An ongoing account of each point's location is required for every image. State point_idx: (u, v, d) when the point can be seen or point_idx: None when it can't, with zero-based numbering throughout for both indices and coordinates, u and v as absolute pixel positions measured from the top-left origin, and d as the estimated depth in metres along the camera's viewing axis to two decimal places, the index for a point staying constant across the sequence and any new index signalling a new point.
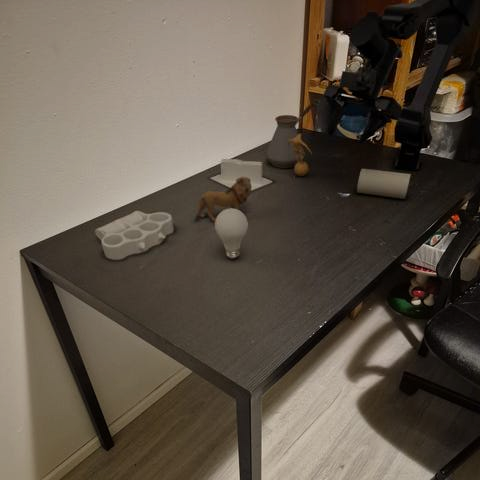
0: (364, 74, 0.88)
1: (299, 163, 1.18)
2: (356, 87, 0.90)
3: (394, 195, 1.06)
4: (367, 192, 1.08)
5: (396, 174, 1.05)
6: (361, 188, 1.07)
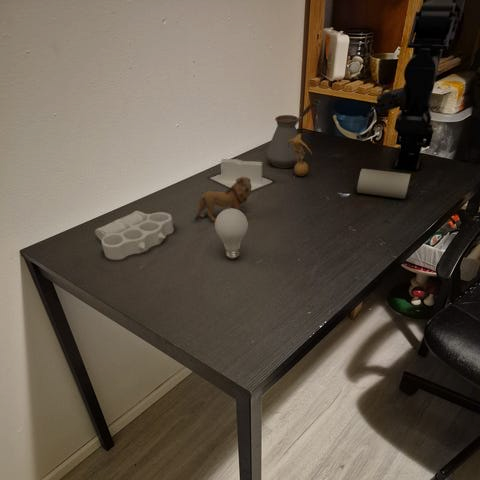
0: (381, 98, 0.93)
1: (299, 163, 1.18)
2: (380, 110, 0.96)
3: (394, 195, 1.06)
4: (367, 192, 1.08)
5: (396, 174, 1.05)
6: (361, 188, 1.07)
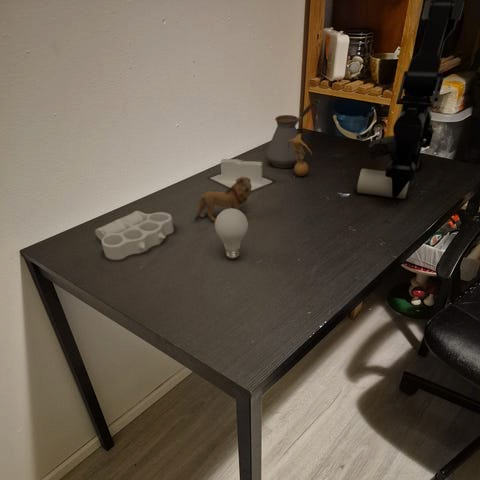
0: (373, 146, 1.00)
1: (299, 163, 1.18)
2: (372, 156, 1.02)
3: None
4: (367, 192, 1.08)
5: None
6: (361, 188, 1.07)
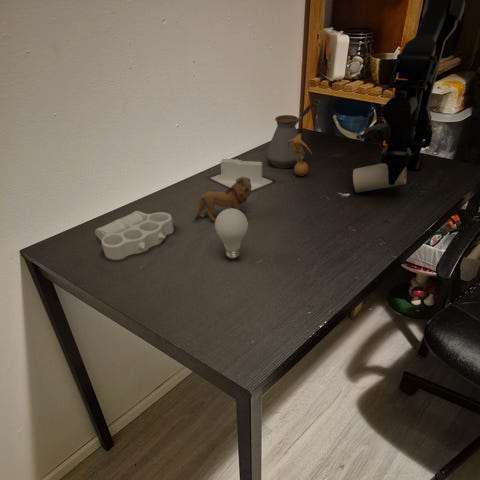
0: None
1: (299, 163, 1.18)
2: (367, 143, 1.01)
3: None
4: (366, 189, 1.08)
5: None
6: (358, 186, 1.08)
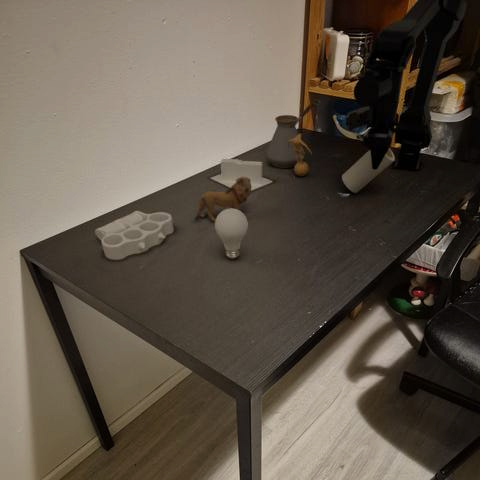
0: (349, 117, 0.98)
1: (299, 163, 1.18)
2: (349, 128, 1.00)
3: (381, 167, 1.03)
4: (361, 185, 1.08)
5: (367, 152, 1.04)
6: (352, 186, 1.08)
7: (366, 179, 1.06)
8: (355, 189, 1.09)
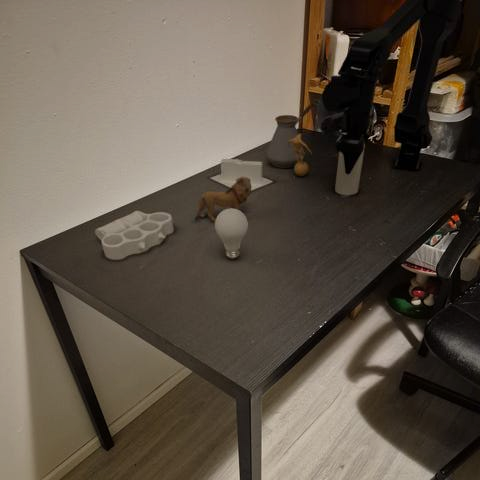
0: (324, 121, 1.01)
1: (299, 163, 1.18)
2: (324, 132, 1.03)
3: None
4: (353, 184, 1.08)
5: None
6: (347, 191, 1.09)
7: (353, 177, 1.07)
8: (351, 191, 1.09)
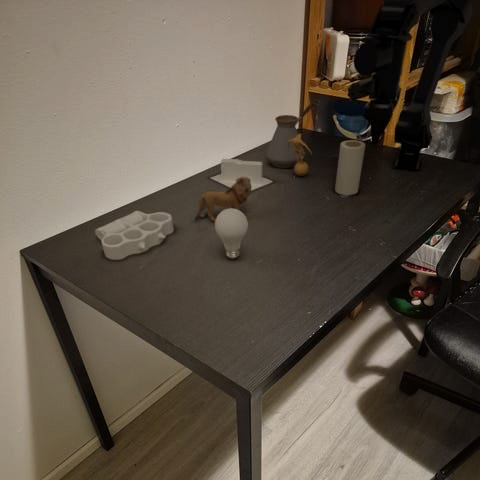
0: (351, 87, 0.98)
1: (299, 163, 1.18)
2: (351, 99, 1.00)
3: (356, 159, 1.04)
4: (353, 184, 1.08)
5: (339, 157, 1.07)
6: (347, 190, 1.09)
7: (353, 177, 1.07)
8: (351, 191, 1.09)
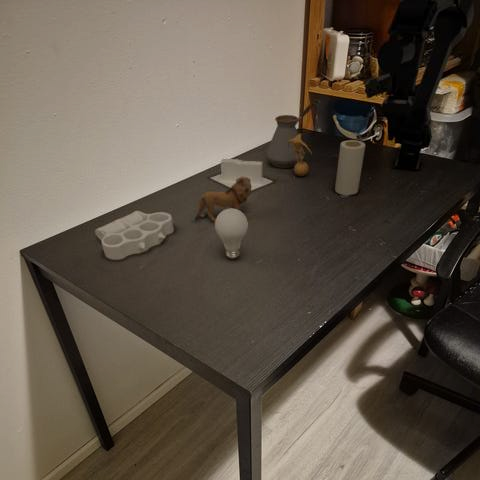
0: None
1: (299, 163, 1.18)
2: (368, 95, 1.01)
3: (356, 159, 1.04)
4: (353, 184, 1.08)
5: (339, 157, 1.07)
6: (347, 190, 1.09)
7: (353, 177, 1.07)
8: (351, 191, 1.09)
